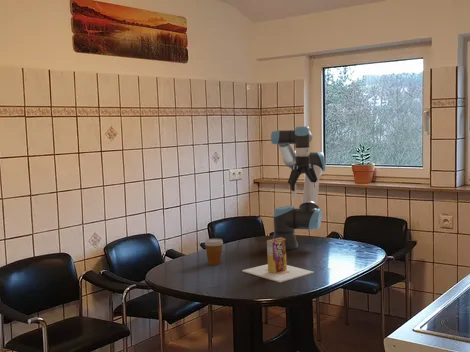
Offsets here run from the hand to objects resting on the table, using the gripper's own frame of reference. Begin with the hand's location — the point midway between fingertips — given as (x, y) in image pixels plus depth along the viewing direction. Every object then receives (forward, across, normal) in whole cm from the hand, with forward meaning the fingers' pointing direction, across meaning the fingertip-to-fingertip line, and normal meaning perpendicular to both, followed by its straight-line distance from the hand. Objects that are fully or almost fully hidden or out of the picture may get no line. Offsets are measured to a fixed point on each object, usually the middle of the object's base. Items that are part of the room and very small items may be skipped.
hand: (303, 195), depth 292 cm
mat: (+32, -35, -16) cm, 50 cm away
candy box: (+31, -35, -16) cm, 50 cm away
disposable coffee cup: (+32, -46, +19) cm, 59 cm away
